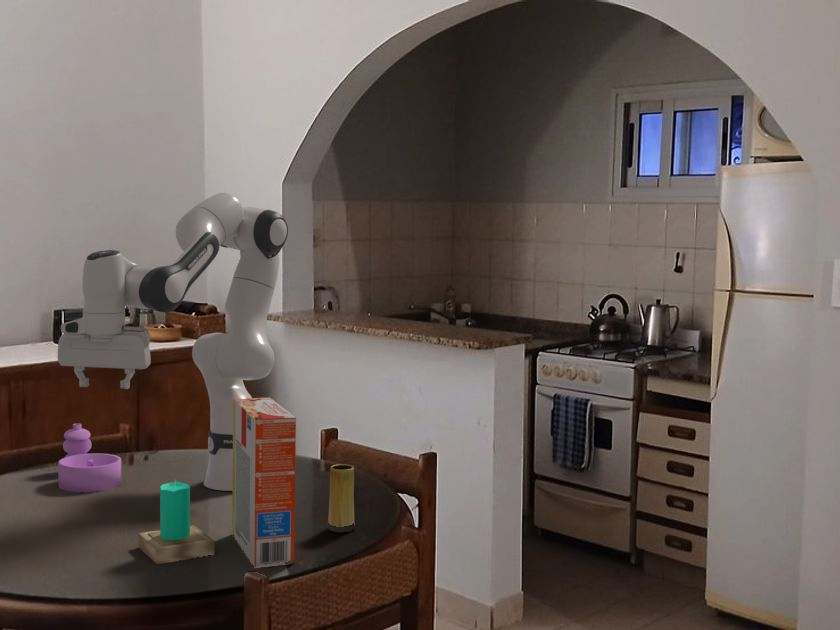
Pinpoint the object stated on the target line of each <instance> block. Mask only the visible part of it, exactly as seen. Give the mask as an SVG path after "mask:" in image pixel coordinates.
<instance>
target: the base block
mask: <svg viewBox="0 0 840 630" xmlns="http://www.w3.org/2000/svg"><path fill="white" fill-rule="evenodd" d="M138 548H139V549H140V550H141V551H142V552H143V553H144V554H145V555H146V556H148V558H149V559H151V560H152V561H153V562H154V563H155V564H156V565H162V564H169V563H174V562H175V563H176V562H180V560H181V561H186V560H187V561H188V560H192V559H191V558H193V559H198V558H197V557H199V558H203V556H205V557H209V556H208V555H211V556H215V540H214V539H213V538H211V537H210V536H209V535H208V534H206V533H205V532H204V531H203V530H201V529H200V528H198V527H197V526H196V525H195V524H193V525H190V536H189V537H188V538H185V539H182V540H165V539H162V538H161V537H160V529H158V530H153V531H151V530H150V531H145V532H139V533H138Z"/></svg>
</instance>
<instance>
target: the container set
mask: <svg viewBox="0 0 840 630" xmlns="http://www.w3.org/2000/svg"><path fill="white" fill-rule="evenodd" d="M63 437H64V438H63V439H65V440H64V441H63V444H62V447H63V450H64V453H67V454H66V455H65V456H64V457H63V458H61V459H59V460H58V462H57V464H58V465H57V466H58V467H57V469H58V471H57V472H58V473H57V474H58V475H57V478H58V481H57V482H58V489H60V490H61V489H62V491H64V490H65V492H70V493H81V492H84V493H96V491H99V492H103V491H102V490H105V491H108V490H107V489H110V490H112V489H111V488H113V489H115V488H114V487H116V486H118V485H119V486H121V485H122V458H121V457H120V456H119V455H115V454H110V453H88V452H89V451H90V450H91V449H92V445H93V444H92V441H91V439H90V438H91V432H90V431H89V430H87V429H85V428H82V423H73V424H72V428H70V429H68V430H66V431H65V432H64V434H63ZM120 484H121V485H120ZM119 486H118V487H119ZM116 488H117V487H116Z"/></svg>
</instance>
